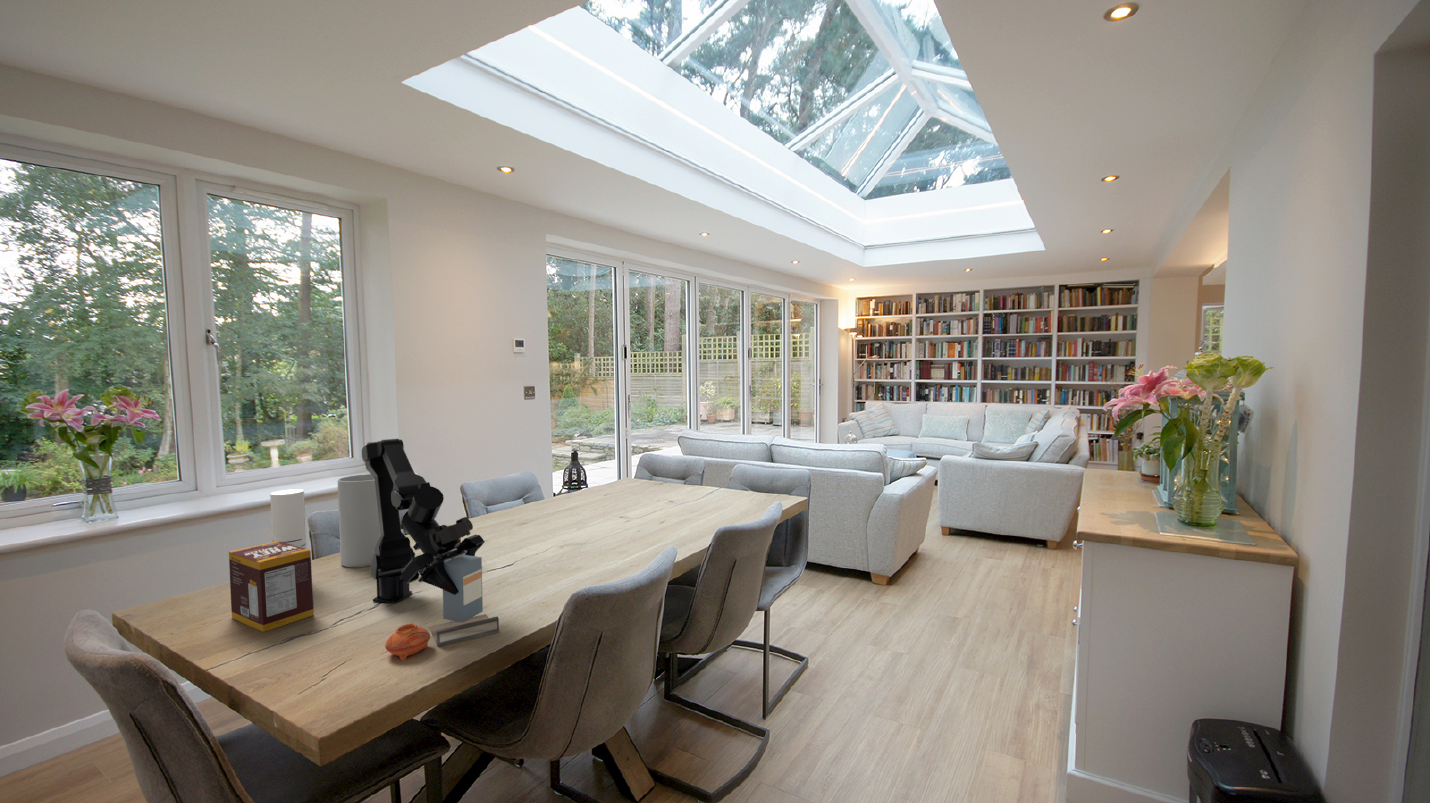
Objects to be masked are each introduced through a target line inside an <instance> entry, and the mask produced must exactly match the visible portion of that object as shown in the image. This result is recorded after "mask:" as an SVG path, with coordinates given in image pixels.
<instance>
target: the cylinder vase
mask: <svg viewBox="0 0 1430 803" xmlns="http://www.w3.org/2000/svg"><path fill="white" fill-rule="evenodd" d="M337 498H338V499H337V500H338V502H337V504H338V525H339V526H338V528H339V552H340V553H339V554H340V564H341V565H342V566H343V567H346V568H364V567H365V568H366V567H370V565H371V562H372V558H373V555H374V554H375V546H376V544H377V542H378V540H379V538H380V536H381V534H380V524H379V515H378V506H377V497H376V488H375V479H374V477H373V476H372V475H371V474H370V473H366V474H355V475H350V476H344V477H340V478H338V479H337Z"/></svg>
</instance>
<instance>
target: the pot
mask: <svg viewBox="0 0 1430 803" xmlns="http://www.w3.org/2000/svg"><path fill="white" fill-rule="evenodd" d="M429 632H430V631H428V629H426V628H424V627H423V626H419V625H418V624H415V623H407V624H405V625H401V626H399V627H397V629H396V630H395V631H394V632H393V633H392V634H391V635H390V636H389V637H388V638H387V639H386V642H385V645H384V647H385V649H386V650H387V652H388V653H390V654H391V655H394V656H398V657H399V659H400V661H404V660H406V659H407V657H409V656H412V655H415V654H417V653H419V652H420V651H421V650H426V649H427V648H428V643H429V641H430V639H431V634H430V633H429Z"/></svg>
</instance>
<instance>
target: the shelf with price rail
mask: <svg viewBox="0 0 1430 803" xmlns="http://www.w3.org/2000/svg"><path fill="white" fill-rule="evenodd" d="M499 620H500V619H499V616H494V617H493V616H492V617H489V616H488V615H487V614H486V613H483V614H481V615H479V614H478V615H475V616H473V617H472V618H470V619H468V620H466V621H464V622H463V623H462V622H457V621H449V622H444V623H440V624H435V625H431V626H428V629H429V632H430V633H431V634H430V635H432V638H433V640H434V643H435V644H436V646H437V648H439V647H443V646H446V645H450V644H456V643H459V642H463V641H467V640H472V639H476V638H481V637H484V636H488V635H492V634H496V633H499V632H500V623H499Z"/></svg>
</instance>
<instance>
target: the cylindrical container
mask: <svg viewBox="0 0 1430 803" xmlns="http://www.w3.org/2000/svg"><path fill="white" fill-rule="evenodd" d="M269 499H270V517H271V536H272V537H271V538H272V539H271V540H272V541H271V542H275V541H281V542H284V543H287V544H291V545H294V546H298V547H301V548H305V549H307V534H306V531H307V529H306V508H305V505H306V504H305V503H306V502H305V490H304V489H303V488H302V489H301V488H300V489H299V488H297V489H296V488H295V489H293V488H291V489H283V490H276V491H272V492H270V498H269Z"/></svg>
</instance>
